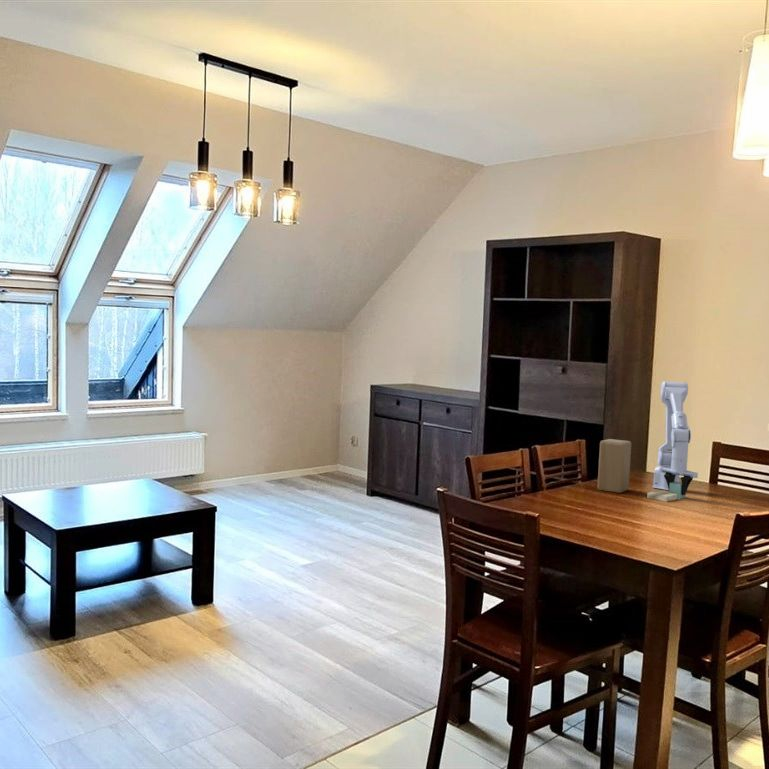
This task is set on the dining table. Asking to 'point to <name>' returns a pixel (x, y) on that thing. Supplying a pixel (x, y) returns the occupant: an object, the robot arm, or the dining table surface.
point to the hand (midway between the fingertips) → (677, 493)
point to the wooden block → (614, 465)
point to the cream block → (662, 496)
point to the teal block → (676, 489)
